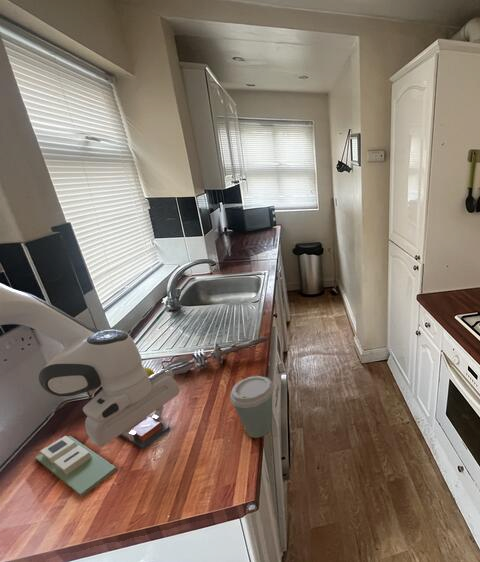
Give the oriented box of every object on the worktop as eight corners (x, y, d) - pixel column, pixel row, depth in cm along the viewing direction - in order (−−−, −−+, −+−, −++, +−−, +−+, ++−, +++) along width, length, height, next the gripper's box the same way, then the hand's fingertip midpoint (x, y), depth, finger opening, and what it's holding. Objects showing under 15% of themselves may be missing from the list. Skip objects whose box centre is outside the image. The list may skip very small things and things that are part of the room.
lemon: (161, 386, 101) (154, 366, 98) (142, 396, 97) (134, 376, 93) (153, 380, 104) (146, 360, 101) (135, 390, 99) (126, 370, 96)
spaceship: (268, 339, 110) (264, 323, 115) (158, 375, 99) (159, 355, 104) (272, 351, 116) (268, 335, 121) (169, 386, 105) (169, 367, 110)
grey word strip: (97, 421, 88) (94, 414, 87) (124, 404, 93) (121, 397, 92) (143, 449, 79) (140, 441, 78) (170, 429, 85) (167, 421, 83)
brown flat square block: (132, 435, 82) (129, 429, 81) (151, 421, 86) (149, 416, 85) (143, 441, 80) (140, 436, 79) (162, 427, 84) (160, 422, 83)
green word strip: (36, 459, 77) (31, 451, 76) (71, 438, 83) (67, 430, 82) (81, 497, 68) (76, 488, 67) (117, 469, 74) (113, 461, 73)
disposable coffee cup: (249, 413, 89) (239, 371, 83) (286, 413, 89) (278, 371, 83) (232, 445, 79) (220, 400, 74) (273, 445, 79) (264, 400, 73)
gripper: (162, 362, 87) (176, 399, 93) (73, 413, 70) (96, 455, 76) (177, 367, 85) (189, 406, 90) (87, 422, 68) (110, 465, 73)
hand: (146, 429), depth 83 cm, fingers closed on brown flat square block, 5 cm apart
